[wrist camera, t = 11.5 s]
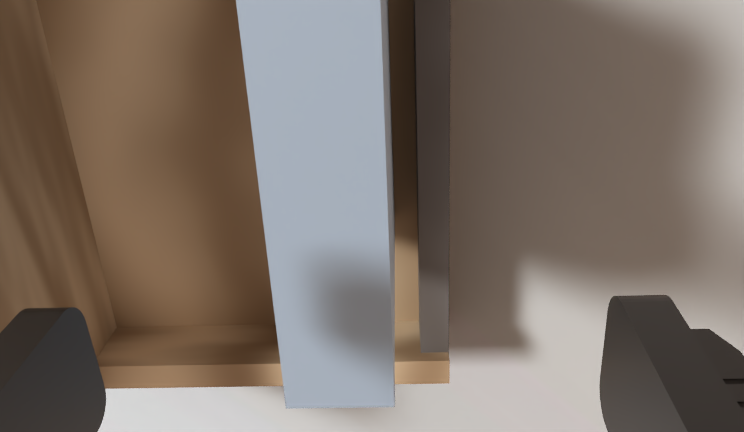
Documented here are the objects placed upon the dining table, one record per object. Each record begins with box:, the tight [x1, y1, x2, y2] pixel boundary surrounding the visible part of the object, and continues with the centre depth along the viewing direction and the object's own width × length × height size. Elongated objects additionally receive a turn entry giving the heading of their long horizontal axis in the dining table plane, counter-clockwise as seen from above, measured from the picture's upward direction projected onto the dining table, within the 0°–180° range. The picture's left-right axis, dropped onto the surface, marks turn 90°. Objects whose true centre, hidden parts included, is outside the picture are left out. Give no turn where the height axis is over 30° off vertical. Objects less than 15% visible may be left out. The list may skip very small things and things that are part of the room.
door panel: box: [236, 0, 395, 408], centre depth 18 cm, size 2×10×10 cm, turn 2°
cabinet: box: [0, 0, 450, 389], centre depth 19 cm, size 14×20×10 cm
